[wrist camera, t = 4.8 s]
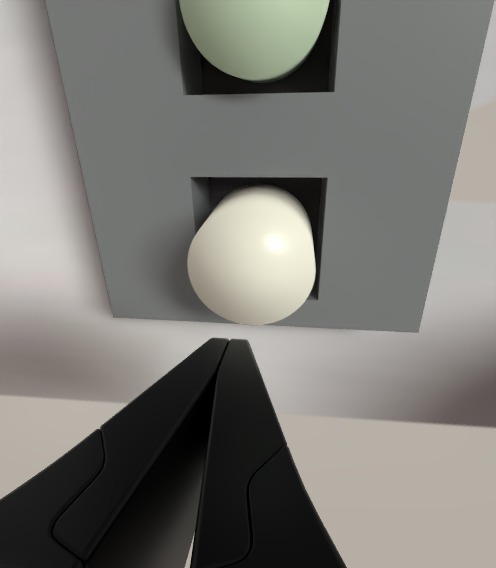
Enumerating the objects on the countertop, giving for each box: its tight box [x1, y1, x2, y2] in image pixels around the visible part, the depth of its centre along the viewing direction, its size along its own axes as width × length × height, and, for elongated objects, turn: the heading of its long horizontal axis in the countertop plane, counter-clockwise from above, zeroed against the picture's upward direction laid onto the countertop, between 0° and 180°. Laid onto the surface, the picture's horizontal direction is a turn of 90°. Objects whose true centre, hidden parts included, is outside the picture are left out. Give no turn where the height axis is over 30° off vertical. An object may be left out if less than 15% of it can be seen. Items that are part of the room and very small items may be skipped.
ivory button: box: [187, 184, 316, 325], centre depth 14 cm, size 4×4×4 cm
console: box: [45, 0, 494, 333], centre depth 13 cm, size 14×24×3 cm, turn 1°
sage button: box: [179, 0, 330, 83], centre depth 12 cm, size 4×4×4 cm
